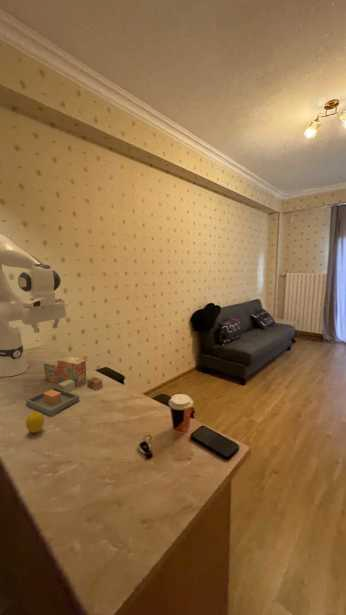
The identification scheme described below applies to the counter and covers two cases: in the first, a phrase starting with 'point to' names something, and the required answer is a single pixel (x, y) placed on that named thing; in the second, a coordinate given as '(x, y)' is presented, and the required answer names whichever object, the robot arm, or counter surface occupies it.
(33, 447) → the counter surface
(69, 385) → the sage brick
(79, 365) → the stack of blocks
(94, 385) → the walnut brick
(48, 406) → the charcoal tray
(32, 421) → the lemon
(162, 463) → the counter surface
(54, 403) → the terracotta brick
